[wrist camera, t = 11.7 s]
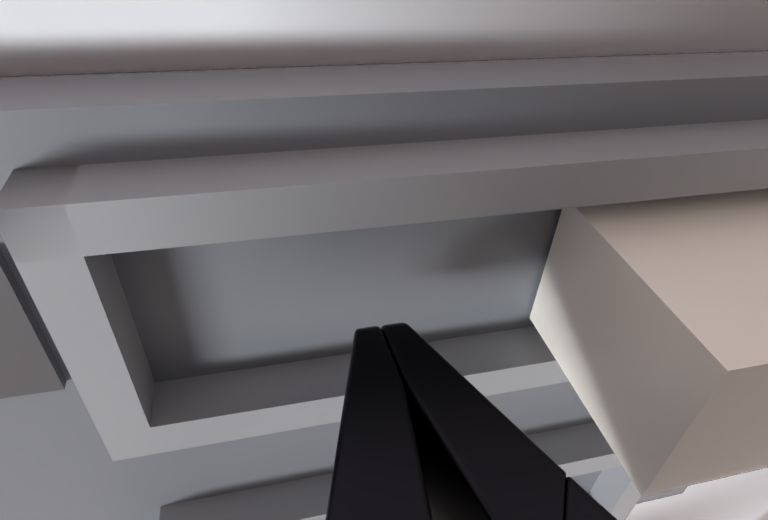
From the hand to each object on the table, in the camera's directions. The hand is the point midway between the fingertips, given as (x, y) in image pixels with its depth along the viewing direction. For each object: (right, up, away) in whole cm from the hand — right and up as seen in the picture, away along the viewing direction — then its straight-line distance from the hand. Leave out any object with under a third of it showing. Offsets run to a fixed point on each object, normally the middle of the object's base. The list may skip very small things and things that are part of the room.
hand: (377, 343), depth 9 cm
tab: (+5, +1, +2) cm, 6 cm away
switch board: (+1, -2, +5) cm, 6 cm away
